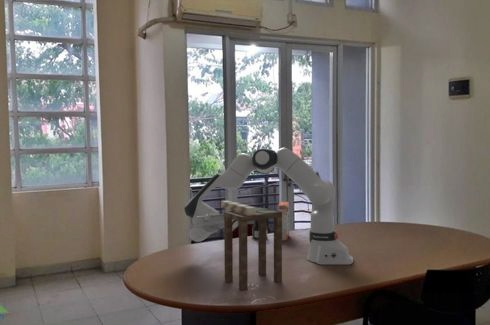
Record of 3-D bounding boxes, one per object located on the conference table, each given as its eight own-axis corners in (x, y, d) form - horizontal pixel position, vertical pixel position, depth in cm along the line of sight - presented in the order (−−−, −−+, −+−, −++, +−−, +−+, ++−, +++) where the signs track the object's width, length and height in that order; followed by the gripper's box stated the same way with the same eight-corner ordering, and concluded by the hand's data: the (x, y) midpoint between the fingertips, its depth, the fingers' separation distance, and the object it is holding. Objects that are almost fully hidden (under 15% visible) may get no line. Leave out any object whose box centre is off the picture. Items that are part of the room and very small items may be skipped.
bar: (221, 207, 203) (221, 201, 202) (227, 207, 205) (227, 200, 204) (248, 215, 184) (248, 208, 184) (255, 214, 186) (255, 207, 186)
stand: (224, 281, 195) (224, 211, 193) (262, 272, 206) (262, 206, 204) (242, 290, 184) (242, 216, 181) (281, 281, 194) (282, 211, 192)
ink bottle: (255, 240, 266) (255, 220, 265) (249, 237, 274) (249, 217, 274) (270, 238, 270) (270, 218, 269) (263, 235, 278) (263, 216, 277)
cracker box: (287, 241, 264) (287, 205, 262) (276, 240, 265) (277, 205, 264) (289, 235, 278) (290, 201, 276) (280, 235, 279) (280, 201, 277)
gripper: (186, 221, 213) (198, 210, 203) (224, 216, 224) (237, 205, 214) (189, 233, 211) (201, 223, 200) (228, 228, 222) (241, 218, 211)
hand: (220, 214), depth 207 cm, fingers open, 8 cm apart
